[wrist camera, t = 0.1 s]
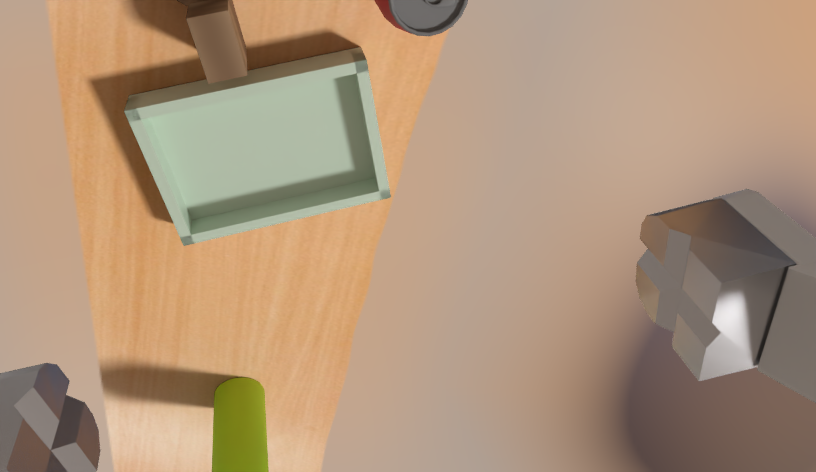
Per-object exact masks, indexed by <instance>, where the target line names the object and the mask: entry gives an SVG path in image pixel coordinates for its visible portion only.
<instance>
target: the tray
mask: <svg viewBox="0 0 816 472" xmlns="http://www.w3.org/2000/svg"><path fill="white" fill-rule="evenodd" d="M247 74H248V75H247V76H243V77H238V78H233V79H228V80H224V81H219V82H214V83H210V84H208V81H207V79H205V80H201V81H196V82H191V83H186V84H182V85H177V86H172V87H167V88H163V89H158V90H153V91H148V92H144V93H139V94H134V95H129V97H128V100H127V103H126V106H125V110H124V112H125V115H126V117H127V119H128V121H129V124H130V126H131V128H132V130H133V133H134V135H135V137H136V139H137V142H138V144H139V146H140V148H141V151H142V153H143V155H144V157H145V160H146V162H147V164H148V166H149V169H150V171H151V173H152V175H153V178H154V180H155V182H156V184H157V187H158V189H159V191H160V193H161V196H162V198H163V200H164V202H165V205H166V207H167V209H168V211H169V214H170V216H171V218H172V220H173V223H174V225H175V227H176V230H177V232H178V234H179V236H180V239H181V241H182V243H183V245H184V246H185V245H189V244H194V243H198V242H202V241H207V240H211V239H215V238H219V237H224V236H228V235H232V234H236V233H241V232H245V231H249V230H254V229H258V228H262V227H266V226H271V225H275V224H279V223H284V222H288V221H292V220H296V219H301V218H305V217H309V216H313V215H318V214H322V213H326V212H331V211H335V210H339V209H343V208H348V207H352V206H356V205H360V204H365V203H369V202H373V201H378V200H382V199H386V198H390V197H391V195H390V189H389V184H388V178H387V173H386V167H385V161H384V156H383V150H382V144H381V139H380V133H379V127H378V122H377V116H376V111H375V105H374V99H373V94H372V88H371V82H370V77H369V71H368V65H367V60H366V58H365V55H364V53H363V51H362V49H361V47H358V48H353V49H348V50H343V51H339V52H334V53H329V54H324V55H320V56H315V57H310V58H305V59H301V60H296V61H291V62H286V63H281V64H277V65H272V66H267V67H262V68H258V69H253V70H248V71H247Z"/></svg>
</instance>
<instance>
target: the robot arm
mask: <svg viewBox="0 0 816 472" xmlns="http://www.w3.org/2000/svg"><path fill="white" fill-rule="evenodd" d="M640 239H641V241H642V242H643V243H644V244H645V246H646V247H647V248H648V249H647V250H646V252H645V253H644V254H643V256H642V257H641V258H640V260H639V261H638V262H637V268H636V285H637V289H638V293H639V298H640V300H641V302H642V304H643V306H644V308H645V310H646V312H647V313H648V315H649V316H650V318H651V319H652V320H653V322H654V323H655V324H657V325H659V326H661V327H663V328H666V329H668V330H670V331H672V332H674V334H673V342H672V347H673V348H674V349H675V351H676V352H677V353H678V355H680V357H681V359H682V360H683V361H684V362H685V364H686V365H687V366H688V368H689V369H690V370H691V372H692V373H693V374H694V375H695V377H696V378H697V379H698V380H699V381H701V380H706V379H710V378H713V377H718V376H722V375H726V374H730V373H734V372H738V371H742V370H746V369H750V368H754V367H758V368H757V370H758V371H760V372H762V373H763V374H765V375H767V376H769V377H770V378H772V379H774V380H776V381H777V382H779V383H781V384H783V385H785V386H786V387H788V388H790V389H792V390H793V391H795V392H797V393H799V394H801V395H803V396H804V397H806V398H808V399H809V400H811V401H813V402H815V403H816V238H815V237H814V236H812V235H811V234H810V233H809V232H807V231H806V230H805V229H803V228H802V227H801V226H800V225H799V224H797V223H796V222H795V221H794V220H792V219H791V218H790V217H789V216H787V215H786V214H785V213H784V212H782V211H781V210H780V209H779V208H777V207H776V206H775V205H774V204H772V203H771V202H770V201H769V200H767V199H766V198H765V197H764V196H762V195H761V194H760V193H759V192H756V191H753V190H749V189H745V190H742V191H738V192H734V193H730V194H726V195H722V196H719V197H715V198H713V199H711V200H706V201H702V202H698V203H694V204H690V205H686V206H682V207H678V208H674V209H670V210H666V211H662V212H658V213H654V214H650V215H647V216H646V218H645V219H644V221H643V223H642V226H641V233H640ZM68 385H69V380H68V378H67V377H66V376H65V374H64V373H63V372H62V371H61V369H60V368H59V367H58V366H57V365H56V364H49V363H44V364H40V365H35V366H31V367H26V368H22V369H18V370H13V371H9V372H5V373H0V472H96V471H97V468H98V462H99V456H100V442H99V431H98V427H97V424H96V422H95V419H94V416H93V414H92V413H91V411H90V410H89V408H88V407H87V405H86V404H85V402H82V401H80V400H77V399H75V398H72V397H70V396H67V395H66V393H67V389H68Z"/></svg>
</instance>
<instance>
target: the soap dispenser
mask: <svg viewBox="0 0 816 472" xmlns="http://www.w3.org/2000/svg"><path fill="white" fill-rule="evenodd" d="M212 472H268V453H267V433H266V413H265V393H264V388H263V386H262V385H261V384H260V383H259V382H258V381H256V380H254V379H250V378H243V377H240V378H233V379H230V380H227V381H225V382H223V383H222V384H220V385H219V386H218V387H217V389H216V391H215V394H214V420H213V454H212Z"/></svg>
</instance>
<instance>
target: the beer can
mask: <svg viewBox="0 0 816 472" xmlns="http://www.w3.org/2000/svg"><path fill="white" fill-rule="evenodd" d="M375 2H376V4H377V5H378V7H379V9H380V10H381V12H382V14H383V15H384V17H385V18H386V19H387V20H388V21H389V22H390V23H391V24H393V25H394V26H395V27H396V28H399V29H401V30H404V31H406V32H408V33H411V34H415V35H417V36H432V35H436V34H440V33H442V32H444V31H445V30H447V29H449V28H450V27H452V26H453V25H454V24H455V23H456V22H457V21H458V19H459V18H460V17H461V16H462V14H463V12H464V9H465V8H466V5H467V2H468V0H375Z"/></svg>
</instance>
